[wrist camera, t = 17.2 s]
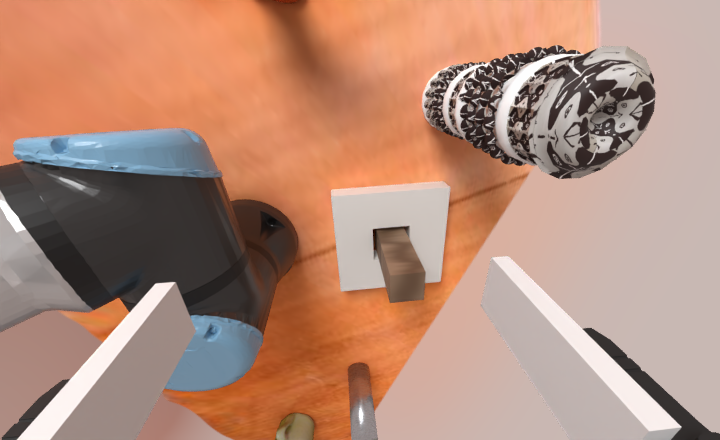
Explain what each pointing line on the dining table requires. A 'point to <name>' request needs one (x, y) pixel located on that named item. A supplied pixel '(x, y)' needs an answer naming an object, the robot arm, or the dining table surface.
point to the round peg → (361, 403)
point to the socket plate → (383, 210)
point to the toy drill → (286, 1)
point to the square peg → (399, 265)
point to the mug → (296, 428)
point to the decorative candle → (546, 106)
